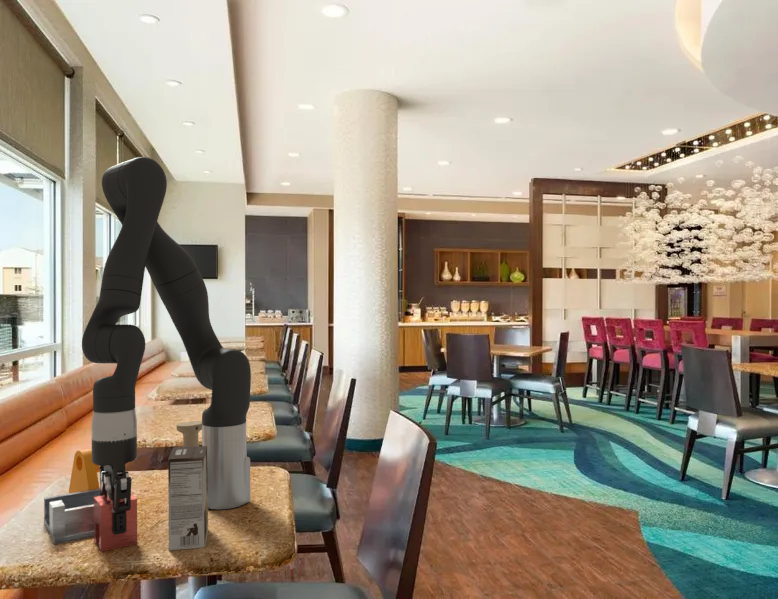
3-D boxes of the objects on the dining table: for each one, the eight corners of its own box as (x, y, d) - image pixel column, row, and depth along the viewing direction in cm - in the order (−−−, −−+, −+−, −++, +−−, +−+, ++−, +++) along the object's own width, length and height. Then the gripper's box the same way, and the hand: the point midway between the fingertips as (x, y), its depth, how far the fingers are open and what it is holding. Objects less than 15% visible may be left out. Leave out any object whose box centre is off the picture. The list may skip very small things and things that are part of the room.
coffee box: (173, 532, 116) (172, 446, 116) (209, 529, 118) (208, 444, 118) (167, 551, 107) (166, 458, 107) (206, 547, 109) (205, 455, 109)
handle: (173, 489, 144) (172, 424, 144) (196, 482, 149) (195, 420, 149) (185, 492, 141) (184, 426, 141) (209, 486, 146) (208, 422, 146)
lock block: (128, 533, 116) (128, 490, 116) (137, 543, 111) (137, 498, 111) (94, 541, 112) (93, 497, 112) (101, 551, 107) (100, 505, 107)
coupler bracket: (109, 510, 129) (109, 481, 129) (125, 529, 118) (125, 498, 118) (44, 522, 122) (43, 492, 122) (54, 544, 111) (54, 511, 111)
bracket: (124, 503, 134) (124, 448, 134) (90, 512, 128) (90, 454, 128) (102, 494, 141) (101, 441, 141) (69, 501, 135) (68, 447, 136)
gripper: (147, 438, 108) (147, 535, 108) (126, 426, 120) (127, 513, 120) (100, 444, 104) (101, 545, 104) (84, 431, 115) (84, 521, 115)
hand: (115, 527), depth 112 cm, fingers closed on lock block, 6 cm apart
